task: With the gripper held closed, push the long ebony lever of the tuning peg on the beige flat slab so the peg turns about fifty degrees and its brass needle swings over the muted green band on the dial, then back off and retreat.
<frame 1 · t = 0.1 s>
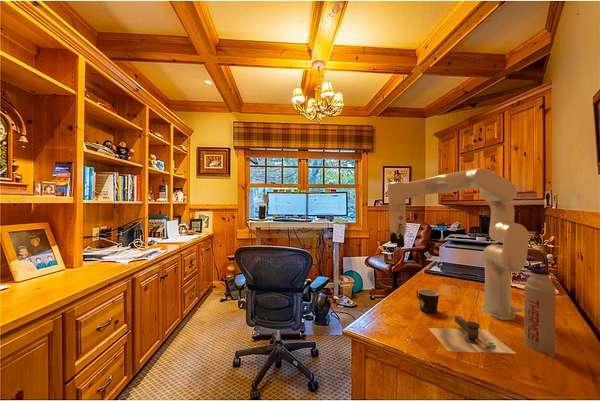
hand: (397, 245, 124), 31 cm above the table, tool pointing down, fingers open, 9 cm apart
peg: (469, 328, 98), point 5 cm above the table, hinge at 0.0°
beige flat slab: (468, 343, 97), on the table
thermos bottle: (539, 351, 92), on the table
coffee mug: (427, 313, 123), on the table
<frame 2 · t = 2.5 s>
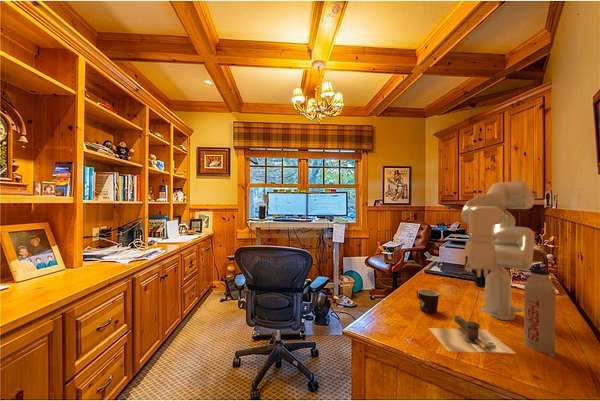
hand: (480, 286, 102), 19 cm above the table, tool pointing down, fingers closed
nothing on the table moved.
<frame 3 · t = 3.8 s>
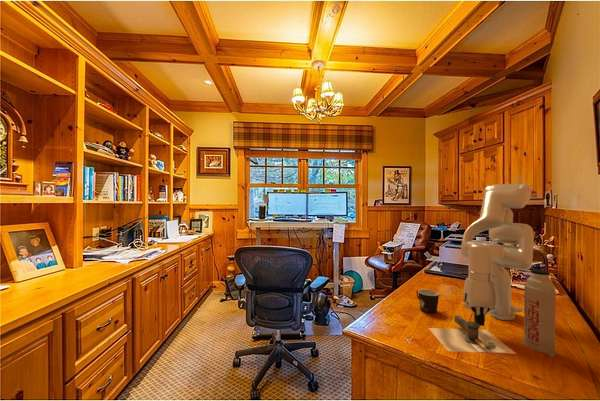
hand: (479, 324, 102), 5 cm above the table, tool pointing down, fingers closed
nothing on the table moved.
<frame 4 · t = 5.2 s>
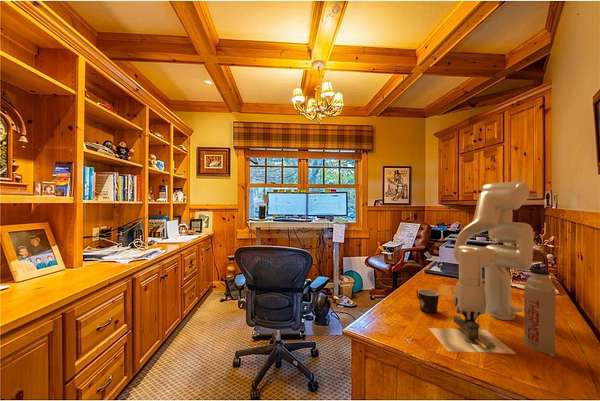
hand: (470, 328, 102), 3 cm above the table, tool pointing down, fingers closed
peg: (469, 328, 98), point 5 cm above the table, hinge at 2.6°, touching gripper
everything else where it was.
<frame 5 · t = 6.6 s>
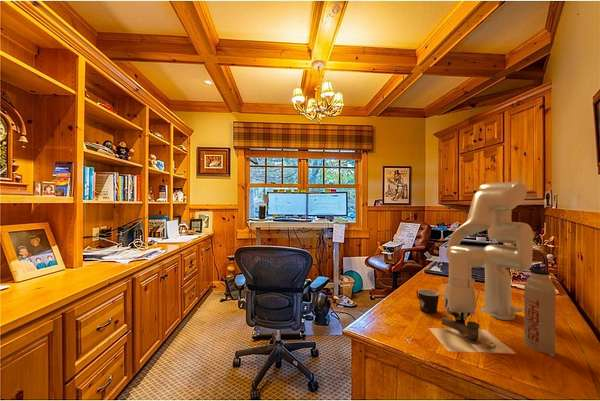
hand: (460, 328, 103), 3 cm above the table, tool pointing down, fingers closed
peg: (466, 328, 98), point 5 cm above the table, hinge at 35.2°, touching gripper
everything else where it was.
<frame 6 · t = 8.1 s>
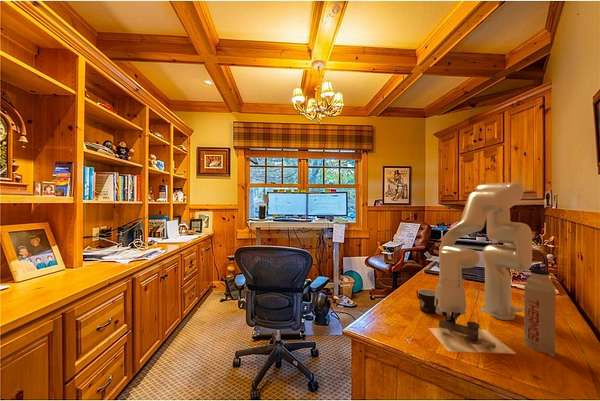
hand: (450, 328, 103), 2 cm above the table, tool pointing down, fingers closed
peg: (465, 329, 97), point 5 cm above the table, hinge at 52.2°, touching gripper
everything else where it was.
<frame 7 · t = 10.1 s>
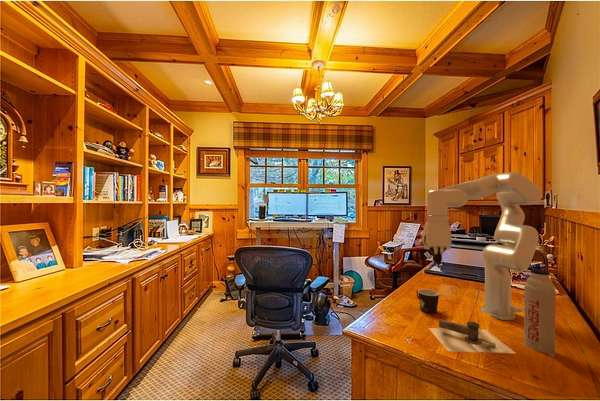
hand: (437, 263, 111), 26 cm above the table, tool pointing down, fingers closed
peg: (465, 329, 97), point 5 cm above the table, hinge at 52.3°
everything else where it was.
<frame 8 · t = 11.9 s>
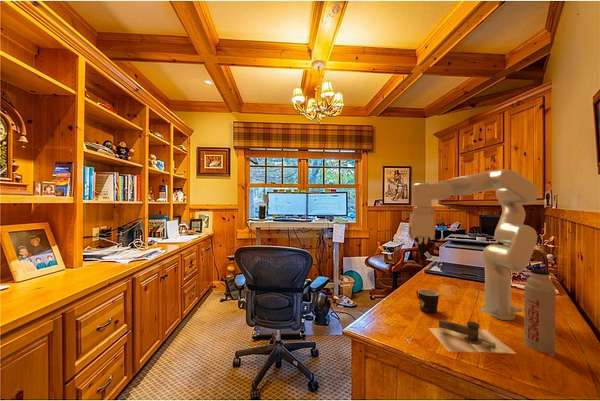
hand: (421, 252, 117), 29 cm above the table, tool pointing down, fingers closed
nothing on the table moved.
at the end: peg at +52° (first picture: +0°) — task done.
